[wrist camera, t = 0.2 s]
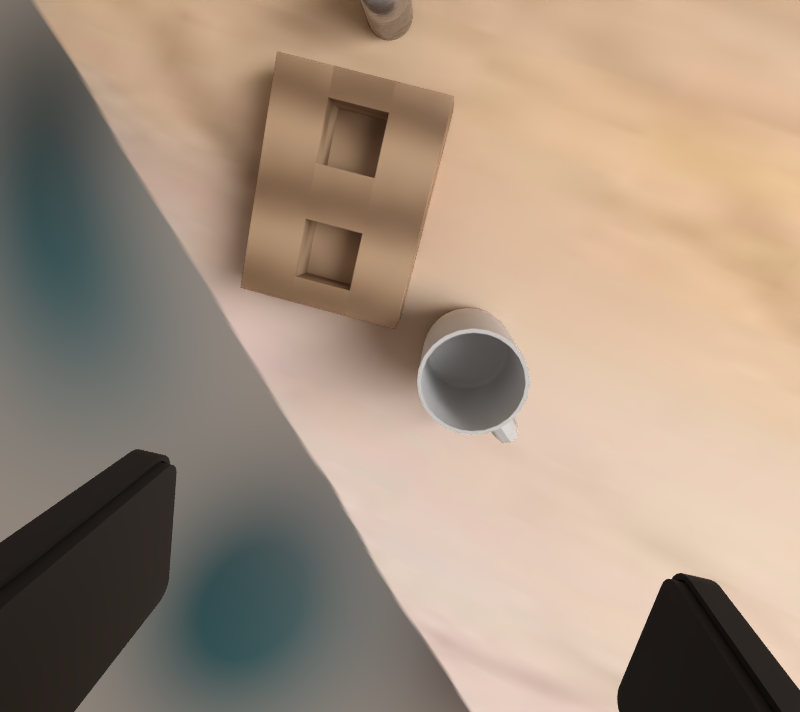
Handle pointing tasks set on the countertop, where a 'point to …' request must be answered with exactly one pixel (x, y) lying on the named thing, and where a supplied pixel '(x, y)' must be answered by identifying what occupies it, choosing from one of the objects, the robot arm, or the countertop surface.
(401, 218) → the bore block
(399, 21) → the dowel
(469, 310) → the cup
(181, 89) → the countertop surface
